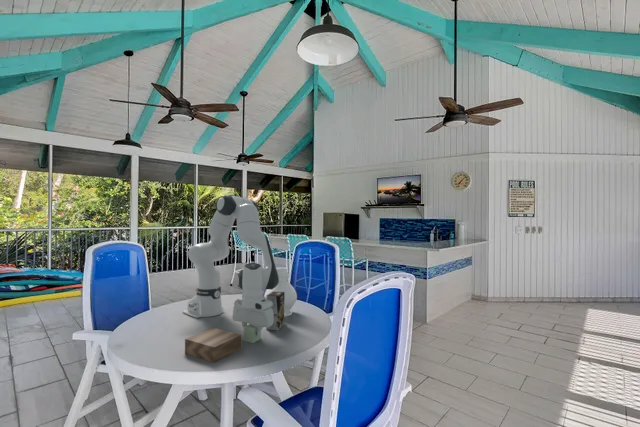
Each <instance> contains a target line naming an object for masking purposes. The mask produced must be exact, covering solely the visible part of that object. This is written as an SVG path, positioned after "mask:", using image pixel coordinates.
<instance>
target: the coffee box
mask: <svg viewBox="0 0 640 427" xmlns="http://www.w3.org/2000/svg"><path fill="white" fill-rule="evenodd" d="M284 293H285V292H271V293H270V294H268V295H267V299H268V300H270V301H272V303H273V306H272V307H271V308H272V309H273V314H274V323H273V325H272V326H270V327H268V328H267V327H265V329H266V330H269V331H271V330H272V331H279V330H280V329H282V327H283V326H284V325H285V317H284Z"/></svg>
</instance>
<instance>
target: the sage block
mask: <svg viewBox="0 0 640 427" xmlns="http://www.w3.org/2000/svg"><path fill="white" fill-rule="evenodd" d="M258 329H259V328H258V326H257V325H253V324H247V326H245V327H244V328H243V341H244V342H246V343H250V344H254V343H257V341H259V340H261V339H262V338H261V336H262V334H261V335H260V336H257V335H256V331H258Z"/></svg>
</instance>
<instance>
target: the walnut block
mask: <svg viewBox="0 0 640 427" xmlns="http://www.w3.org/2000/svg"><path fill="white" fill-rule="evenodd" d="M240 350H242V334H241V333H235V332H231V331H227V330H223V329H219V328H215V327H213V328H210V329H209V328H208V329H206V330H205V331H202V332H201V331H200V332H199V333H196V334H194V335H192V336H189V337H186V338H185V339H184V354H185V355H188V356H192V357H194V358H198V359H200V360H203V361H207V362H210V363H213V364H216V362H219V361H221V360H223V359H225V358H227V357H228V356H229V357H230V355H232V354H234V353H237V352H238V351H240Z"/></svg>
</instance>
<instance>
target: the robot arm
mask: <svg viewBox="0 0 640 427" xmlns="http://www.w3.org/2000/svg"><path fill="white" fill-rule="evenodd" d="M235 220H236V233H237V236H238V237H237V238H239V240H240V241H241V242H243V243H244V244H245V245H246V244H247V245H249V246H252V247H256V248H257V249H259V250H260V251H261V252H262V255H263V260H264V264H265V267H262V265H261V264H260V263H257V262H256V263H255V262H249V263H246V264H244V266H243V269H241V270H240V271H239V272H238V273H237V278H238V279H237V280H238V281H237V287H238V288H240V289H241V290H242V294H241V298H240V299H239V298H237V299H236V300H234V302H233V309H232V319H233V321H235V322H240V323H241V325H242V328H243V329H244V327H245V326H247V325H249V324H253V325H257V326H258V328H259V329H258V331H256V335H257V336H260V335H261V336H262V331H263V328H266V327H267V328H268V327H270V326H272V325H273V323H274V314H273V309H272V308H271V307H272V306H273V303H272V301H270V300H268V299H266V298H265V297H263V292H262V289H273V288H275V287H276V286H277V285H278V282H279V276H278V272H277V269H276V267H277V266H276V263H275V259H274V256H273V251H272V247H271V244H270V240H269V238H268V236H267V235H266V234H264V232H263V231H262V229H261V221H260V215H259V204H258V203H257V202H256V201H254V200H251V199H248V198H246V197H243V196H242V197H241V196H238V195H237V196H236V195H232V194H222V195H220V197H219V198H218V199H217V201H216V211H215V212H214V215H213V217H212V220H211V222H210V224H209V227H208V229H207V232H208V235H209V236H210V238H209V241H208V242H200V243H196V244H194V245H192V246H190V248H189V249H188V255H187V256H188V259H189V260H190V262H191V263H192V264H194V266H195V267H196V270H197V273H198V288H196V289H195V292H196V294H195V295H194V296H193V297H192V298H191V299H189V300H188V302H187V308H186V309H183V310H182V313H183V314H185V315H187V316H191V317H193V318H195V319H197V318H208V317H215V316H218V315H219V316H220V315H221V314H223V312H224V307H223V304H222V303H223V302H222V295H221V293H222V287H221V273H220V271H219V270H218V269H216V267H215V262H220V261H222V260H224V259H226V258H227V257H228V256H229V255H230V246H229V245H228V238H229V235H230V233H231V230H232V227H233V226H234V223H235Z"/></svg>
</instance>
